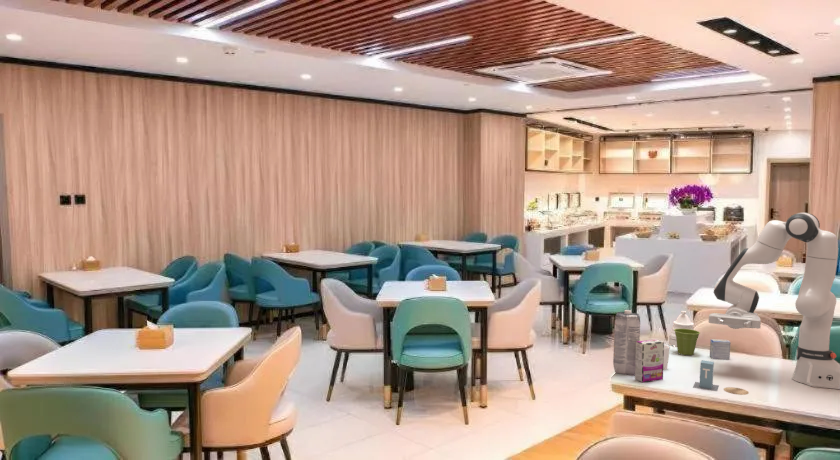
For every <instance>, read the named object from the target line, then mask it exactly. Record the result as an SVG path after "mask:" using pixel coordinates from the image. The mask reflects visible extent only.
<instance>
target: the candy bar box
mask: <svg viewBox="0 0 840 460" xmlns="http://www.w3.org/2000/svg"><path fill="white" fill-rule="evenodd" d="M664 345H665V341H663V340H659V339H648V340H640V341H637V342H636V360H635V375H634V380H636V381H638V382H641V383H649V382H654V381H661V380H662V381H663V380H664V370H663V359H664Z"/></svg>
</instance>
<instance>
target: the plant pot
mask: <svg viewBox="0 0 840 460" xmlns="http://www.w3.org/2000/svg"><path fill="white" fill-rule="evenodd" d="M674 331H675V335H676V340H677V347H676V349H677V353H678V354H680V355H682V356H693V355H695V351H696V347H697V341H698V339H699V335H700V334H701V332H700V331H698V330H695V329H694V330H691V329H674ZM695 346H696V347H695Z"/></svg>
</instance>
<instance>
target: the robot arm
mask: <svg viewBox="0 0 840 460" xmlns="http://www.w3.org/2000/svg"><path fill="white" fill-rule="evenodd" d="M820 224H821V223H820V220H819V219H818V218H817V217H816V216H815V215H814V214H812V213H808V212H797V213H794V214H793V215H791V216H789V217H788V218H787V220H786V221H782V220H777V219H772V220H769V221H768V222H767V223H765V225H764V226H763V228H762V230H761V231H760V233H759V235H758V237H757V238H756V241H755V242H754V243H753V245H751V246H750V247H747V248H746V247H745V248H744V249H743V250H741V251H740V253H739V254H738V255H737V257H736V258H735V260H734V261H733V262H732V264H731V265H730V267H729V268H728V269H727V270H726V272H725V273H724V274H723V276H722V277H721V278H720V279H719V280H718V281H717V283H716V284H715V285H714V289H713V294H714V296H715V298H716V299H717V300H720V301H723V302H727V303H729V304H731V306H729V307H728V308H727V309H726V311H725V313H719V312H718V313H716V312H715V313H714V312H713V313H710V314H709V315H708V323H710V324H713V325H715V324H716V325H724V326H727V327H728V328H730V329H733V330H739V329H746V328H747V329H761V326H762V323H761V322H762V319H761V317H760V316H759V315H758V313H757V312H755V310H756V309H757V307H758V304H759V300H760V295H759V292H758V291H757V290H755V289H753V288H750V287H749V286H745V285H742V284H740V283H737V282H735V281H734V280H733V279H734V278H735V276H736V275H737V274H738V273H739V271H740V270H741V268H742V267H744V266H746V265H751V264H752V265H768V264H769V265H770V264H773V263H775V262H776V261H778V259H779V258H780V256H781V255H782V254H783V251H784V249H785V247H786V246H787V243H788V242H789V240H791V239H793V238H794V239H796V240H798V241H801V242H803V243H806V246H807V247H806V250H807V251H806V258H805V265H804V273H803V278H802V280H801V285H800V288H799V291H798V295H797V297H796V300H795V303H794V304H795V309H796V311H797V312H798V313H799V314H800V315H802V320H801V323H800V326H799V332H798V333H799V334H798V345H797V347H796V355H795V356H796V364H795V369H794V372H793V375H792V377H791V379H792V380H794V381H796V382H798V383H801V384H805V385H807V386H809V387H814V388H825V389H834V390H840V363H839V362H838V361H837V360H836V358H837V354H836V353H835V352H834V351H833V350H831V349H830V337H831V328H832V324H833V320H834V315H835V310H836V309H835V308H836V305H837V297H836V295H835V294H834V293H833V292H832V291H831V290H832V286H833V284H834V281H835V278H836V273H837V267H838V266H837V265H838V255H839V243H838V237H837V235H836V234H835V233H833V232H831V231H829V230H823V229H821V228H820V226H821V225H820Z"/></svg>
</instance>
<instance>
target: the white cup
mask: <svg viewBox="0 0 840 460" xmlns="http://www.w3.org/2000/svg"><path fill="white" fill-rule="evenodd" d="M669 357H670V346H668V345H665V344H664V359H663V371H665V370H668V364H669Z"/></svg>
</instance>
